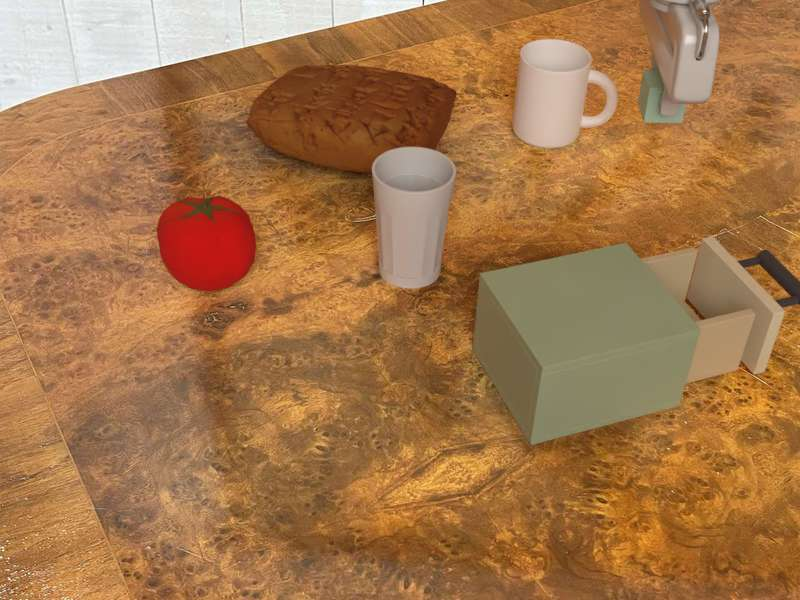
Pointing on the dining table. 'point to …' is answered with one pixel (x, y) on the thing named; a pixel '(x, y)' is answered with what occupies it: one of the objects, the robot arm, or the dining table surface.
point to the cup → (412, 213)
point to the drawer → (726, 305)
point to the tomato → (206, 242)
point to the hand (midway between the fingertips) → (662, 99)
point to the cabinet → (582, 341)
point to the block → (655, 99)
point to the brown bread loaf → (350, 114)
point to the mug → (556, 93)
